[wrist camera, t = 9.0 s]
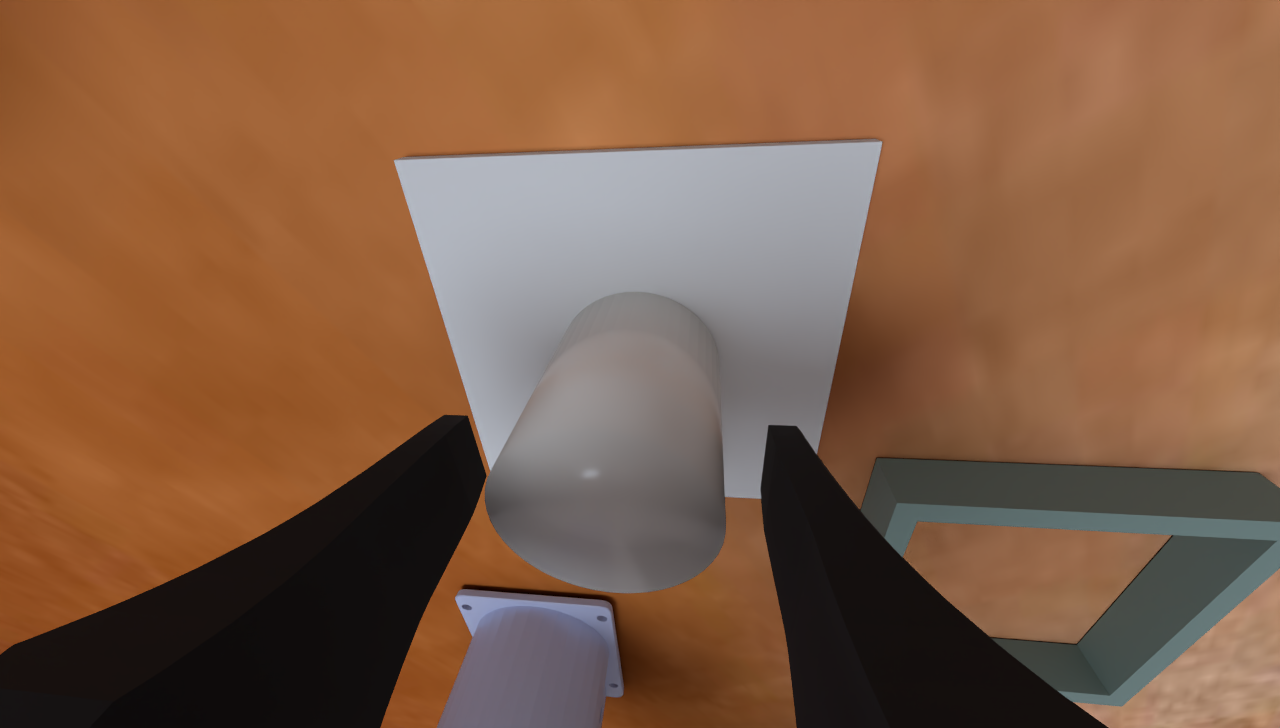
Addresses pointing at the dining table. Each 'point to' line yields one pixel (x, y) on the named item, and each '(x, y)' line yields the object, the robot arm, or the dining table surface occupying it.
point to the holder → (1113, 502)
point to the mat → (650, 267)
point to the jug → (618, 452)
